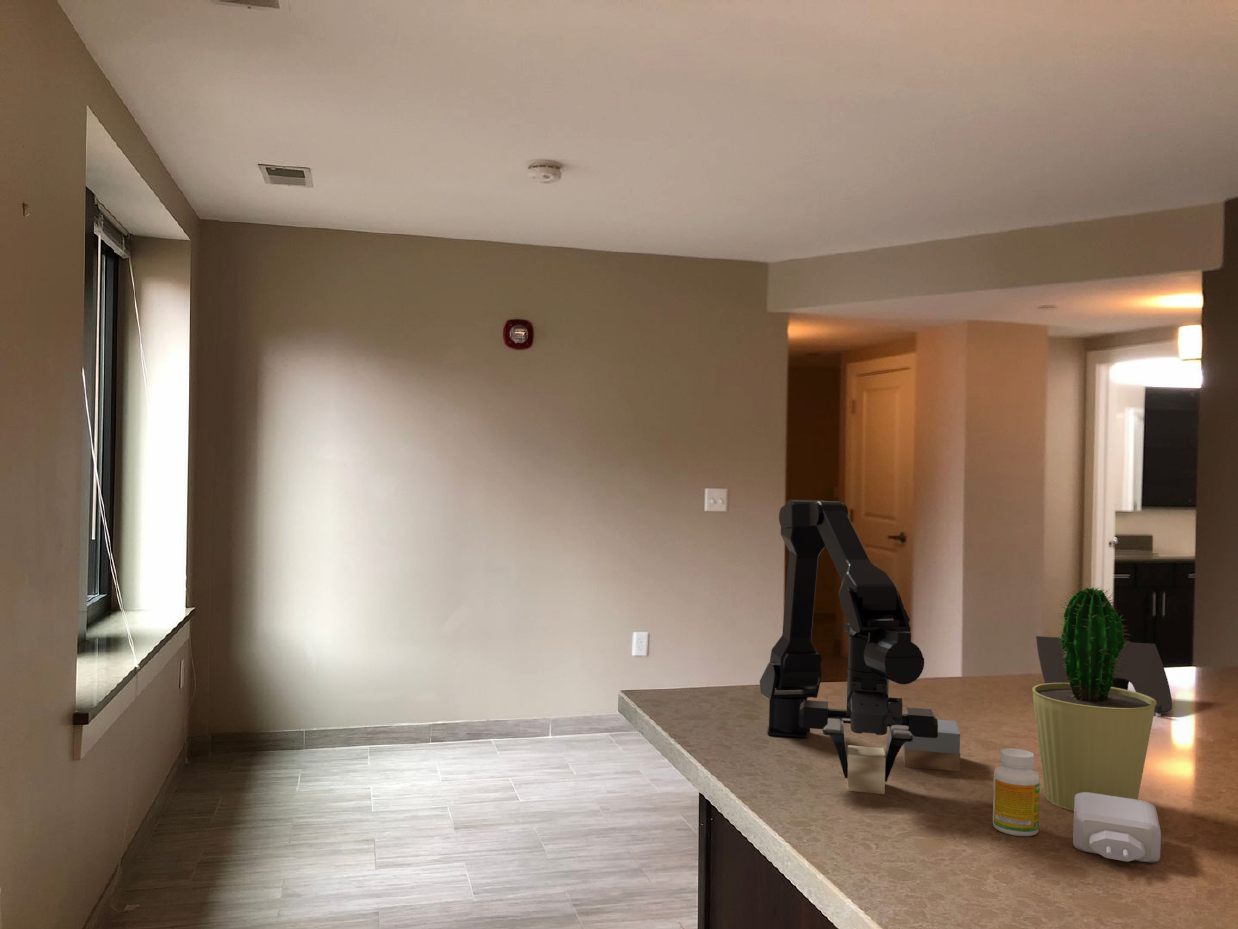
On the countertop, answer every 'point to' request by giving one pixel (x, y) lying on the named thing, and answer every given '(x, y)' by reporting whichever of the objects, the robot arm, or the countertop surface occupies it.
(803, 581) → the robot arm
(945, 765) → the walnut block
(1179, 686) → the countertop surface
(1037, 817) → the supplement bottle
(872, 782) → the birch cube
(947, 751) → the slate block
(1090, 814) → the charger
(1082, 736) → the potted cactus
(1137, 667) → the portable electronic device stand
